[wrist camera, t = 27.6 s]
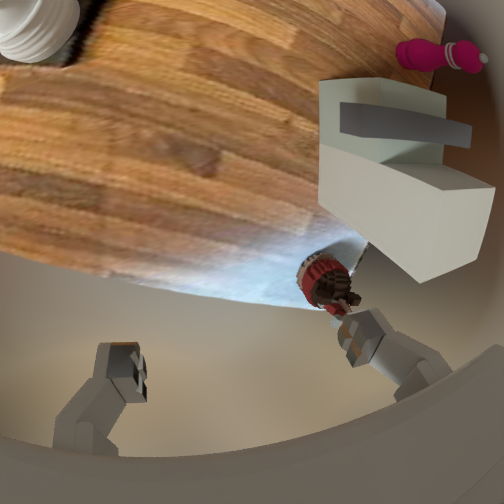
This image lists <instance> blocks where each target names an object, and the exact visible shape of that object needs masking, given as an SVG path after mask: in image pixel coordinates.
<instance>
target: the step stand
mask: <svg viewBox="0 0 504 504" xmlns="http://www.w3.org/2000/svg"><path fill="white" fill-rule="evenodd" d="M340 102H349V103H362V104H370V105H378V106H385V107H391V108H397V109H403V110H408V111H414V112H419V113H423V114H428V115H432V116H437V117H441V118H445V119H446V96H445V95H442V94H439V93H436V92H432V91H430V90H427V89H423V88H420V87H417V86H413V85H409V84H406V83H402V82H398V81H394V80H390V79H385V78H350V79H335V80H324V81H319V108H320V154H319V191H318V204H319V205H321V206H322V207H324V208H325V209H326V210H328V211H329V212H330V213H332V214H333V215H335V216H336V217H337V218H339V219H340V220H341V221H343V222H344V223H345V224H347V225H348V226H349V227H351V228H352V229H353V230H355V231H356V232H357V233H359V234H360V235H361V236H363V237H364V238H365V239H366V240H368V241H369V242H370V243H371V244H373V245H374V246H375V247H377V248H378V249H379V250H380V251H382V252H383V253H384V254H386V256H388V257H389V258H390V259H391V260H393V261H394V262H395V263H396V264H398V265H399V266H400V267H401V268H402V269H403V270H405V271H406V272H407V273H408V274H409V275H411V276H412V277H413V278H414V279H415V280H417V281H418V282H419V283H422V282H424V281H427V280H429V279H431V278H434V277H437V276H439V275H441V274H444V273H446V272H449V271H451V270H453V269H456V268H458V267H460V266H463V265H465V264H467V263H469V262H472V261H474V260H476V259H477V256H478V253H479V250H480V247H481V243H482V240H483V237H484V233H485V230H486V226H487V223H488V219H489V215H490V211H491V206H492V202H493V197H494V192H495V187H493V186H491V185H489V184H487V183H484V182H482V181H480V180H478V179H476V178H473V177H471V176H469V175H466V174H464V173H462V172H460V171H457V170H455V169H452V168H450V167H447V166H444V165H442V160H443V150H444V144H437V143H428V142H419V141H409V140H397V139H382V138H361V137H357V136H353V135H349V134H344V133H340Z"/></svg>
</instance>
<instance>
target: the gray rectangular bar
mask: <svg viewBox="0 0 504 504" xmlns="http://www.w3.org/2000/svg"><path fill="white" fill-rule="evenodd" d="M340 133H344V134H349V135H353V136H357V137H361V138H382V139H397V140H409V141H419V142H428V143H437V144H444V145H451V146H458V147H464V148H470V144H471V133H472V126H470V125H467V124H463V123H460V122H456V121H452V120H448V119H445V118H441V117H437V116H432V115H428V114H423V113H419V112H414V111H408V110H403V109H397V108H391V107H385V106H378V105H370V104H362V103H349V102H340Z"/></svg>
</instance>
